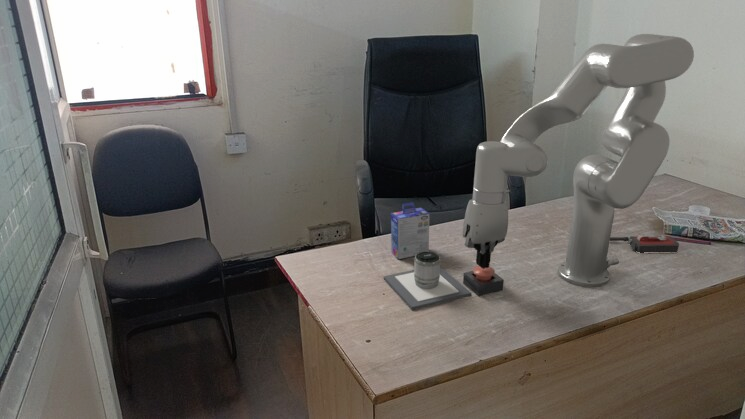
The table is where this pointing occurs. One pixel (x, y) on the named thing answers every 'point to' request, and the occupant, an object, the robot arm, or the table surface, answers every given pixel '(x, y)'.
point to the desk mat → (426, 297)
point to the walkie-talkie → (649, 243)
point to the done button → (483, 273)
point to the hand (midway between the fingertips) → (482, 265)
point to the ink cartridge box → (409, 232)
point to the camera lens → (427, 270)
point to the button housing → (483, 284)
